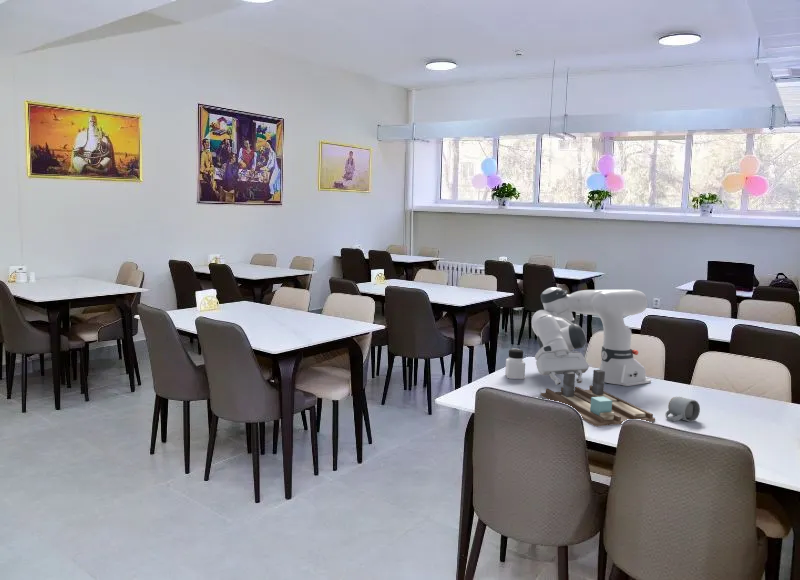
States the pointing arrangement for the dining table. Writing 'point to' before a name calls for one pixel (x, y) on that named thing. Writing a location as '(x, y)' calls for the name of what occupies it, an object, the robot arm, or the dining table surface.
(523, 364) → the medicine bottle
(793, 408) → the dining table surface
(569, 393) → the right strip
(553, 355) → the robot arm
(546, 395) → the lane board
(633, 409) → the left strip far piece
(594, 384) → the left strip stub
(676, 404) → the ceramic mug
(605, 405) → the teal cube
